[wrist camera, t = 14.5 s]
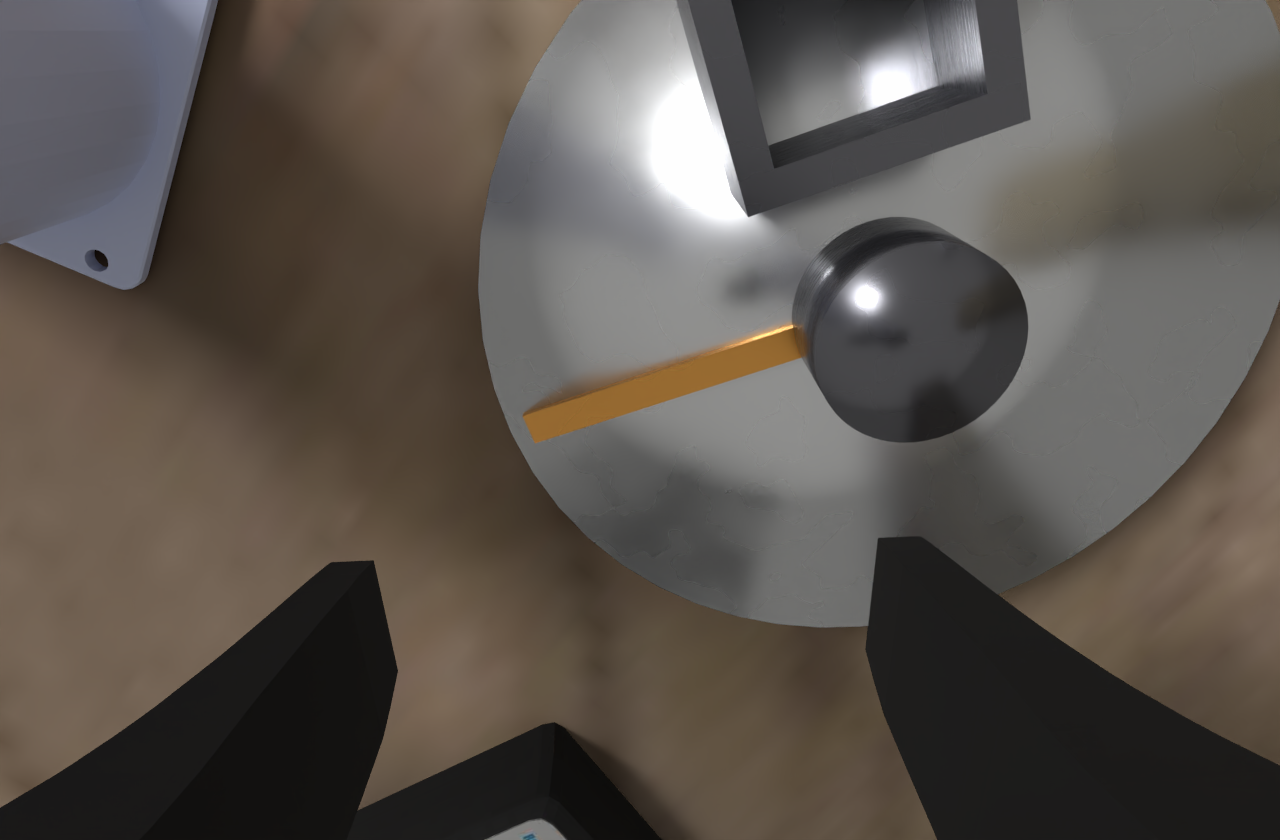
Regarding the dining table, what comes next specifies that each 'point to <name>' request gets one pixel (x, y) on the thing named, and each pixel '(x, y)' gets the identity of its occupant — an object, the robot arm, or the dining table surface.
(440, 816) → the multimeter
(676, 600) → the dining table surface
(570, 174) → the collar wheel
